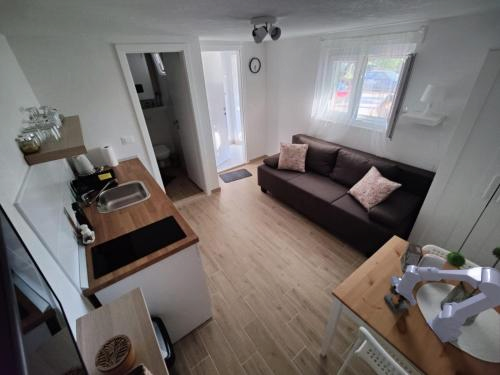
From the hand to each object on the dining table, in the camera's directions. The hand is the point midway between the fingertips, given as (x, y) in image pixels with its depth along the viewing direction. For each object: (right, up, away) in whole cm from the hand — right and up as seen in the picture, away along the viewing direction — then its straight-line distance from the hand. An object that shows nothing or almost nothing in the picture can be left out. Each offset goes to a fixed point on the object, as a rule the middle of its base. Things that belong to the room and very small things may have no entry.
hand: (398, 299), depth 114 cm
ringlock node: (+4, -1, +6) cm, 8 cm away
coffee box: (+20, +10, +21) cm, 31 cm away
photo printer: (+31, +9, +18) cm, 37 cm away
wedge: (0, -3, +2) cm, 4 cm away
